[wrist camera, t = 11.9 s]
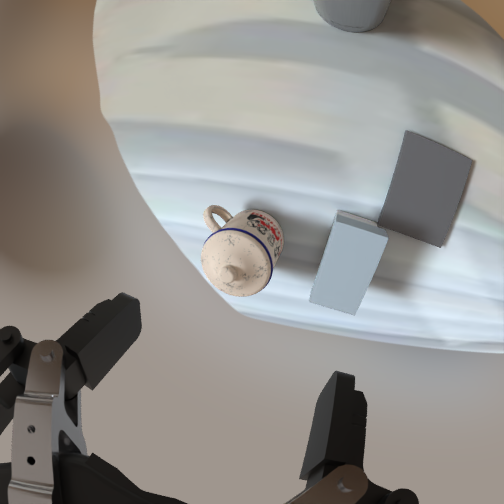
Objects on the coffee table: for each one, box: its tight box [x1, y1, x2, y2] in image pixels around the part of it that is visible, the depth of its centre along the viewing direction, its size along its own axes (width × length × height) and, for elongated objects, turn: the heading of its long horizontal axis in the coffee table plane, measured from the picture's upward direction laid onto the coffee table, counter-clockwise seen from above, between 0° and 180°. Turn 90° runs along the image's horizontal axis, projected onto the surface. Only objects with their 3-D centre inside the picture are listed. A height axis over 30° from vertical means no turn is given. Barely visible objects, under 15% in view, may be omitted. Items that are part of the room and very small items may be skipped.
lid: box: [309, 214, 389, 315], centre depth 33 cm, size 11×6×3 cm, turn 168°
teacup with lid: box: [201, 205, 284, 296], centre depth 37 cm, size 12×9×12 cm
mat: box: [378, 131, 472, 248], centre depth 31 cm, size 13×10×1 cm
